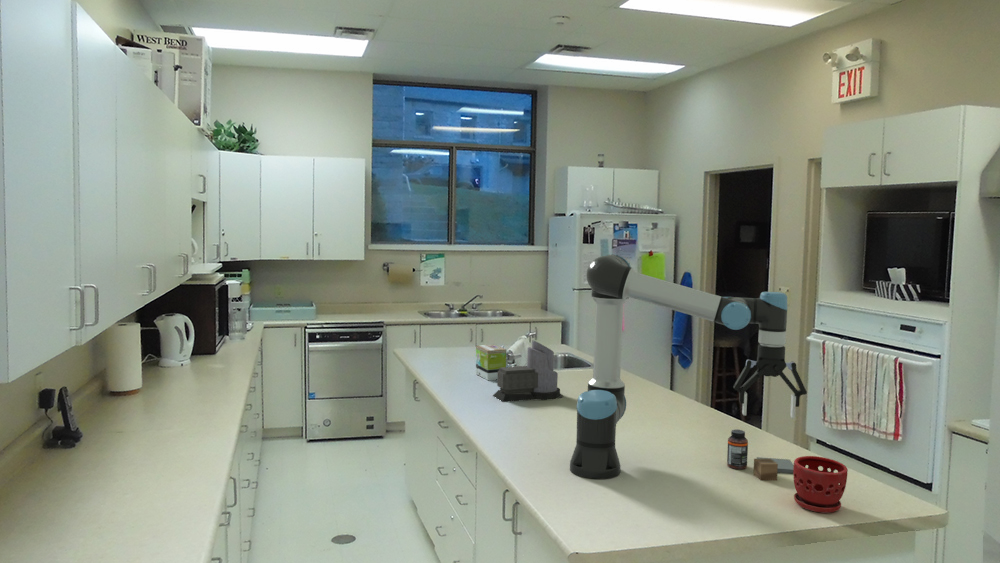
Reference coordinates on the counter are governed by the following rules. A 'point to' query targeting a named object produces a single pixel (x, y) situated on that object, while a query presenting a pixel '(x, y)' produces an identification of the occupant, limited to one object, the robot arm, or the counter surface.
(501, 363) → the tea box
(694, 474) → the counter surface
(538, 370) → the juicer
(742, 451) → the supplement bottle
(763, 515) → the counter surface
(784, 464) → the coaster
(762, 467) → the walnut cube
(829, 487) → the plant pot
